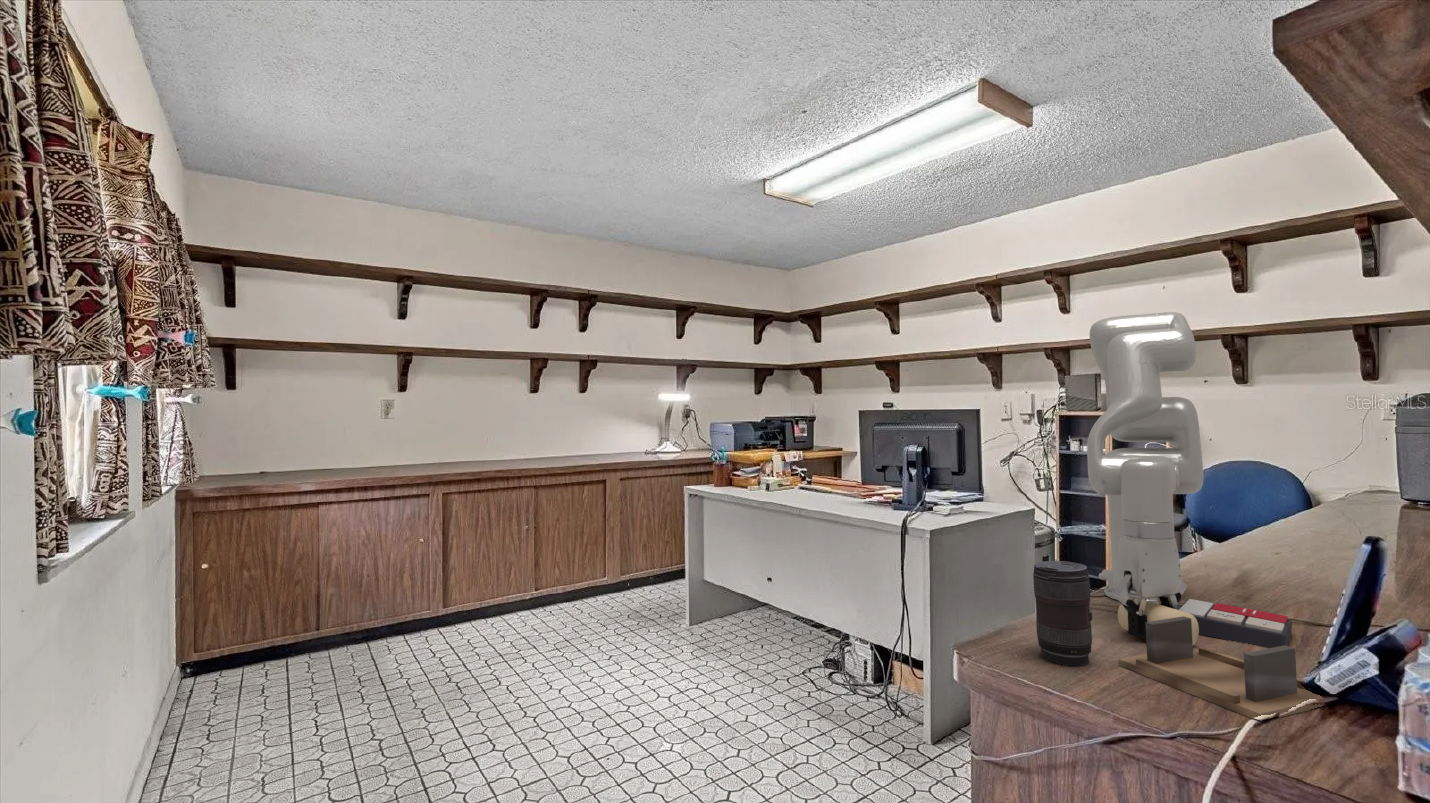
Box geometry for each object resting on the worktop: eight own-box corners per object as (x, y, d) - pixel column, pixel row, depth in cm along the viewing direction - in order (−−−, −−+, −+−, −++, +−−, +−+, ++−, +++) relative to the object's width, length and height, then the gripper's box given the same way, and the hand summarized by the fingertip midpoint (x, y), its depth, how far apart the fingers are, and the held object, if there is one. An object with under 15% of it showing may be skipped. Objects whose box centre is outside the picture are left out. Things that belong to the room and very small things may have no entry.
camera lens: (1053, 645, 109) (1049, 557, 110) (1103, 659, 103) (1098, 565, 103) (1026, 656, 105) (1022, 564, 105) (1076, 671, 98) (1072, 573, 99)
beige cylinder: (1130, 637, 116) (1112, 614, 115) (1148, 613, 117) (1130, 590, 116) (1185, 656, 106) (1166, 631, 105) (1204, 629, 107) (1185, 604, 106)
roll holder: (1118, 665, 100) (1116, 620, 100) (1184, 653, 104) (1182, 609, 105) (1260, 721, 81) (1257, 665, 81) (1334, 704, 85) (1331, 651, 86)
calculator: (1285, 630, 104) (1174, 608, 115) (1285, 656, 104) (1173, 631, 115) (1292, 614, 112) (1187, 595, 123) (1291, 639, 112) (1186, 617, 123)
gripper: (1164, 523, 118) (1168, 621, 118) (1091, 530, 113) (1095, 633, 113) (1205, 529, 111) (1210, 634, 111) (1129, 537, 106) (1134, 647, 106)
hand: (1152, 632), depth 112 cm, fingers closed on beige cylinder, 6 cm apart
